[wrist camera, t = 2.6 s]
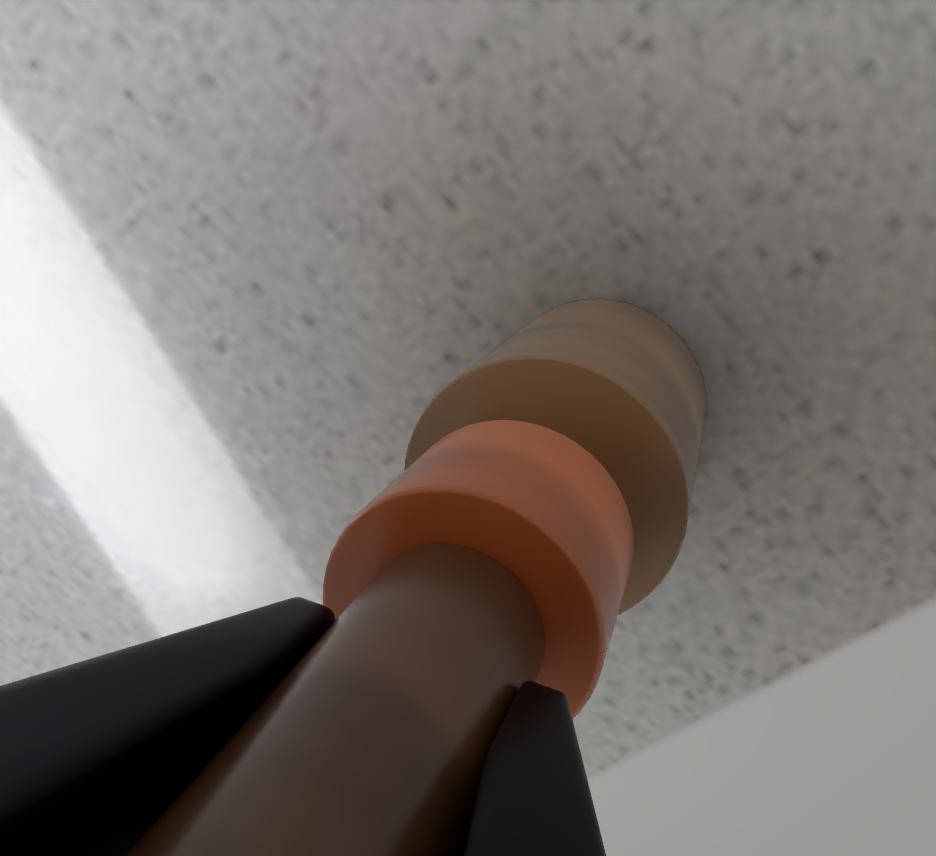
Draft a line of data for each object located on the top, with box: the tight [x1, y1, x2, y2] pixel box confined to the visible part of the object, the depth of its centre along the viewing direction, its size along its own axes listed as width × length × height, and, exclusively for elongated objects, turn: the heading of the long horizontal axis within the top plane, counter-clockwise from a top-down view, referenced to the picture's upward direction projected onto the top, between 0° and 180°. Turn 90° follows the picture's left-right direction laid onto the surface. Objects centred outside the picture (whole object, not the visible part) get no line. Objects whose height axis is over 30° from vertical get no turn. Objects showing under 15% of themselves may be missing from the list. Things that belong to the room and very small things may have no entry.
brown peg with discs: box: [126, 420, 634, 856], centre depth 8 cm, size 3×3×8 cm
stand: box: [404, 299, 706, 615], centre depth 15 cm, size 4×4×6 cm
